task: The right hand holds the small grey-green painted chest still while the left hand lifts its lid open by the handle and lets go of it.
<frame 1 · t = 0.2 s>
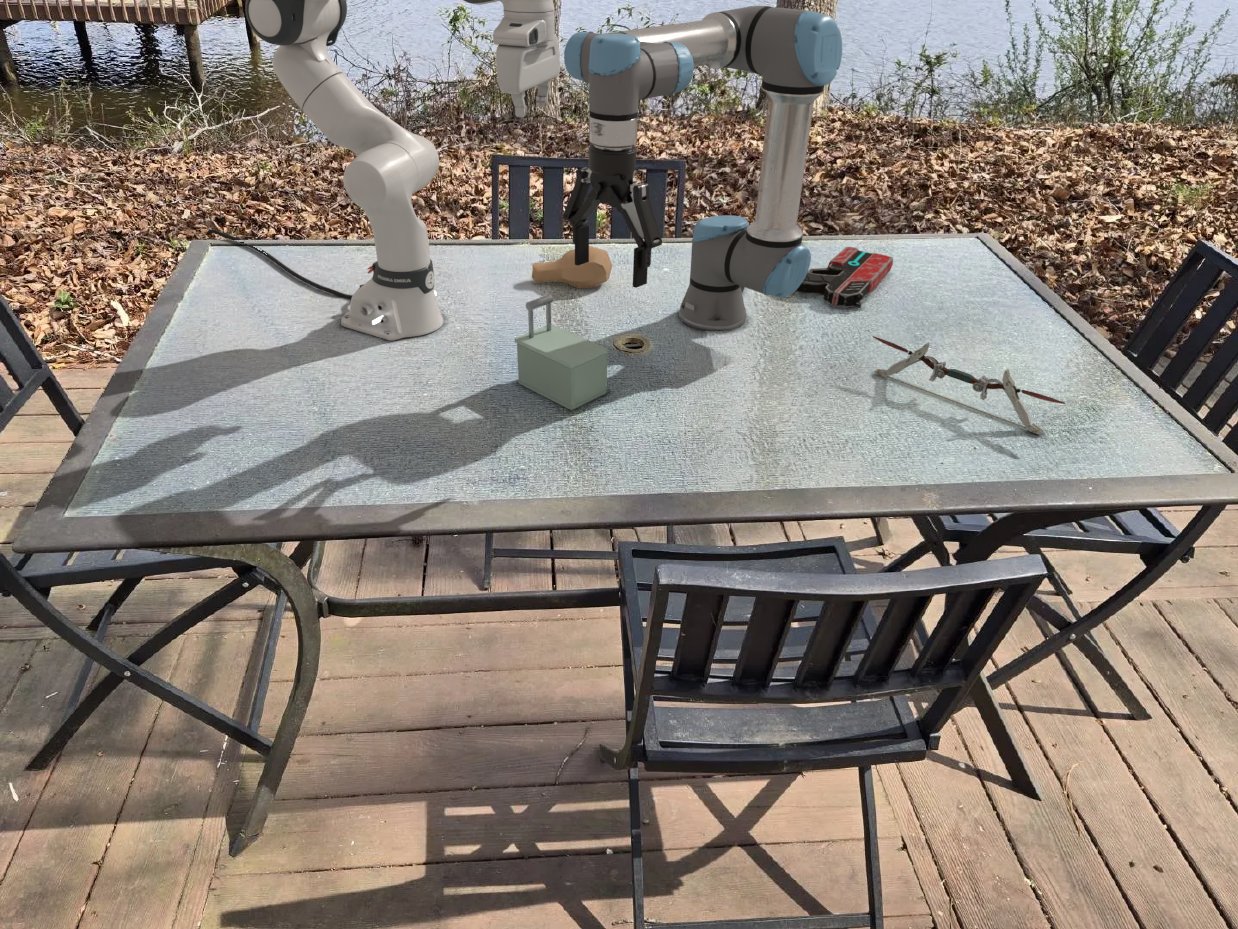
left hand: (531, 111, 161), 48 cm above the table, tool pointing down, fingers open, 8 cm apart
right hand: (610, 274, 149), 28 cm above the table, tool pointing down, fingers open, 13 cm apart
bow: (953, 402, 172), on the table
lid: (560, 327, 166), point 13 cm above the table, hinge at 0.0°
gun: (840, 283, 222), on the table
chest: (562, 388, 173), on the table
squash: (571, 283, 217), on the table
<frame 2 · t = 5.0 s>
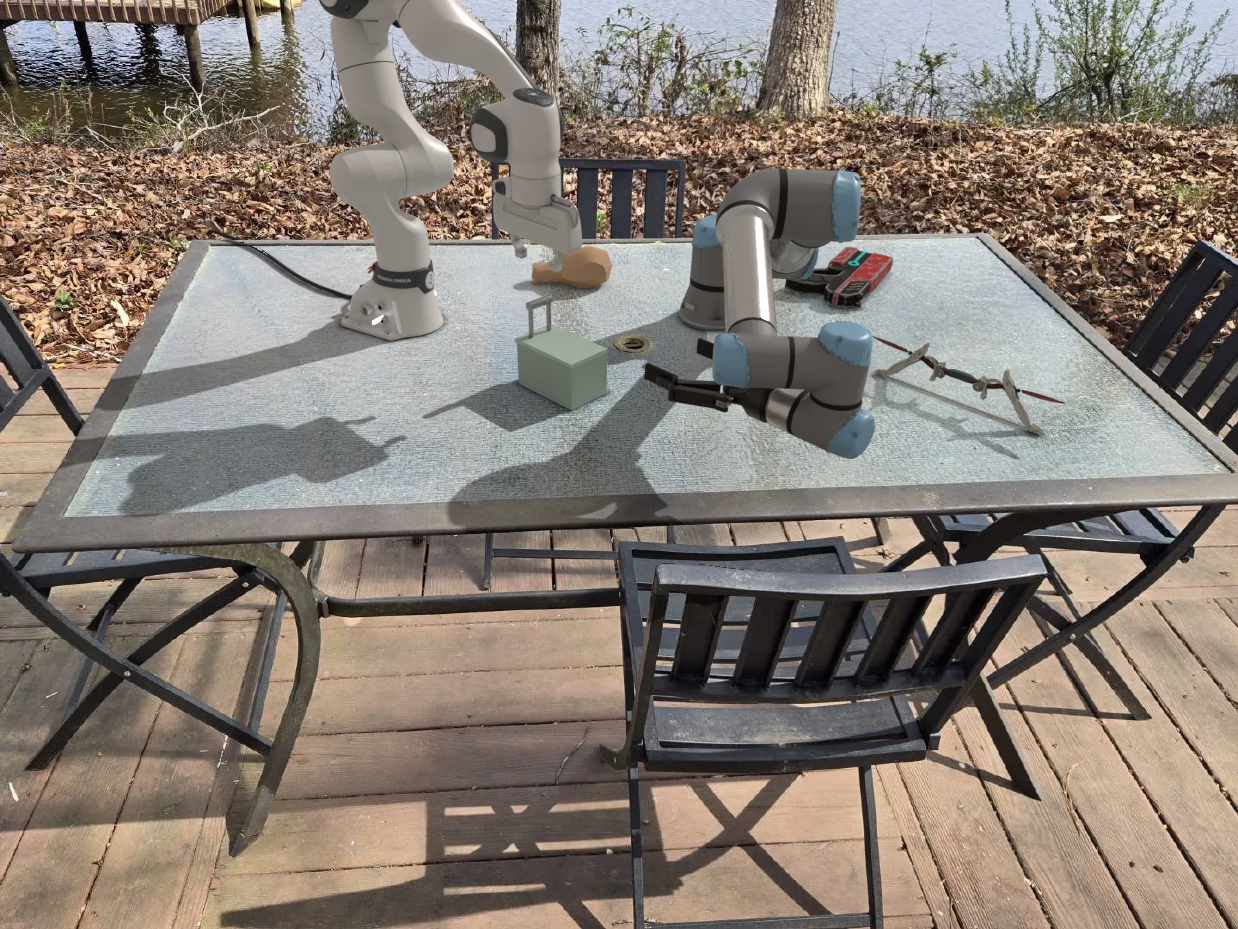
left hand: (538, 263, 163), 24 cm above the table, tool pointing down, fingers open, 8 cm apart
right hand: (672, 357, 148), 17 cm above the table, tool horizontal, fingers open, 13 cm apart
nothing on the table moved.
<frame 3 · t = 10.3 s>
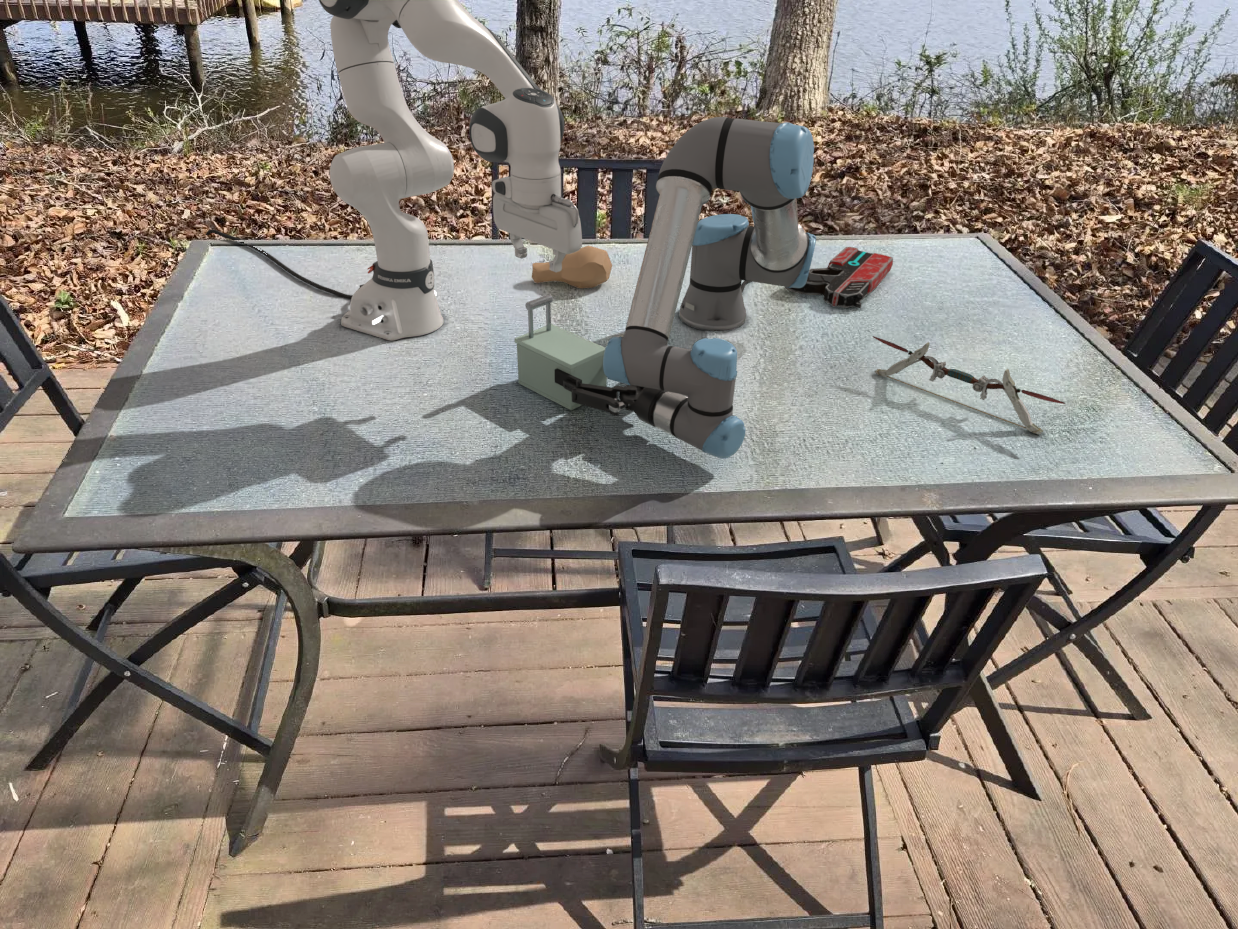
left hand: (538, 263, 163), 24 cm above the table, tool pointing down, fingers open, 8 cm apart
right hand: (575, 366, 167), 6 cm above the table, tool horizontal, fingers closed on chest, 10 cm apart
chest: (562, 388, 173), on the table, touching right hand
everything else where it was.
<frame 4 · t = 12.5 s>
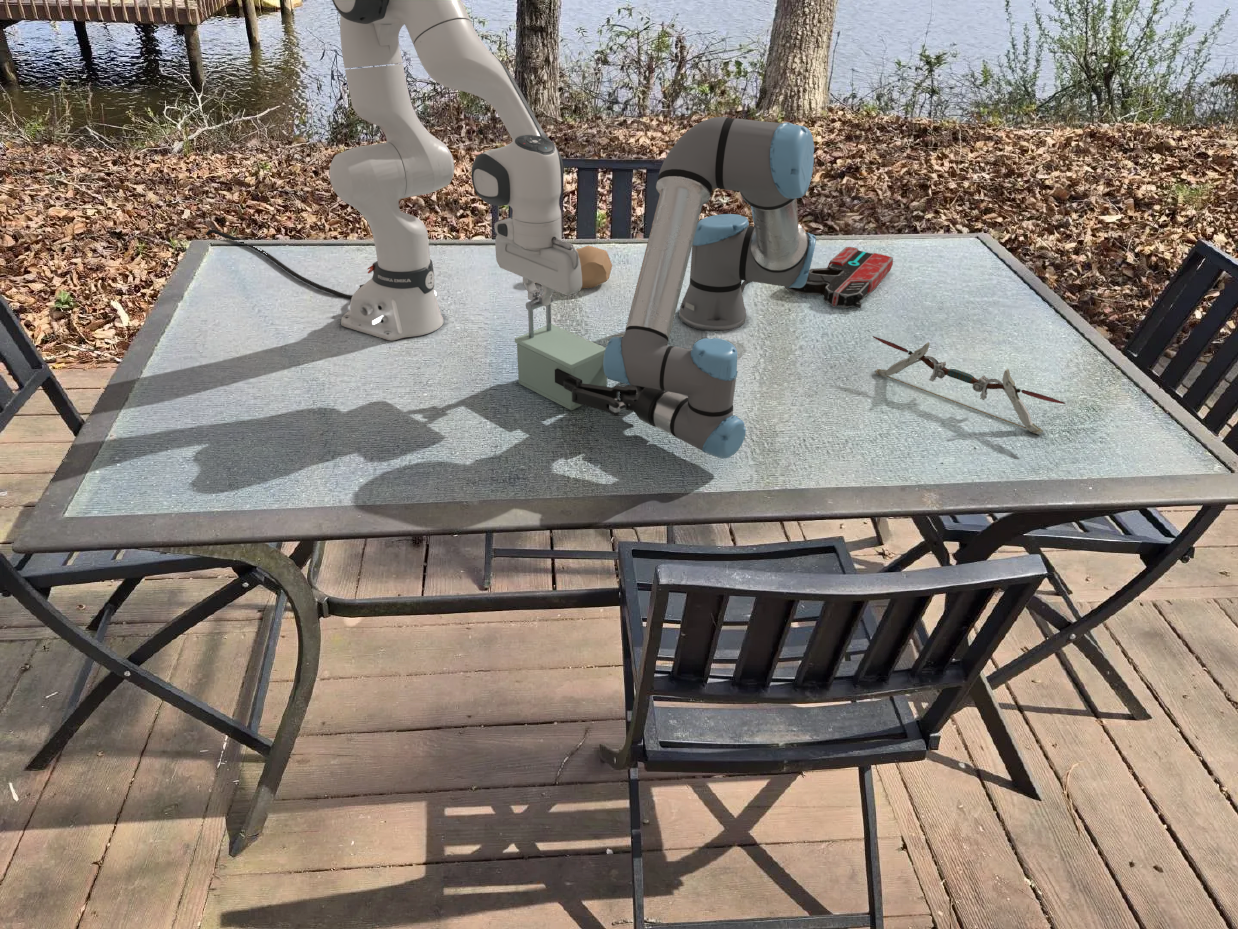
left hand: (539, 302, 167), 16 cm above the table, tool pointing down, fingers closed on lid, 2 cm apart
right hand: (576, 366, 167), 6 cm above the table, tool horizontal, fingers closed on chest, 10 cm apart
lid: (560, 327, 166), point 13 cm above the table, hinge at 0.0°, touching left hand
chest: (562, 388, 173), on the table, touching right hand
everything else where it was.
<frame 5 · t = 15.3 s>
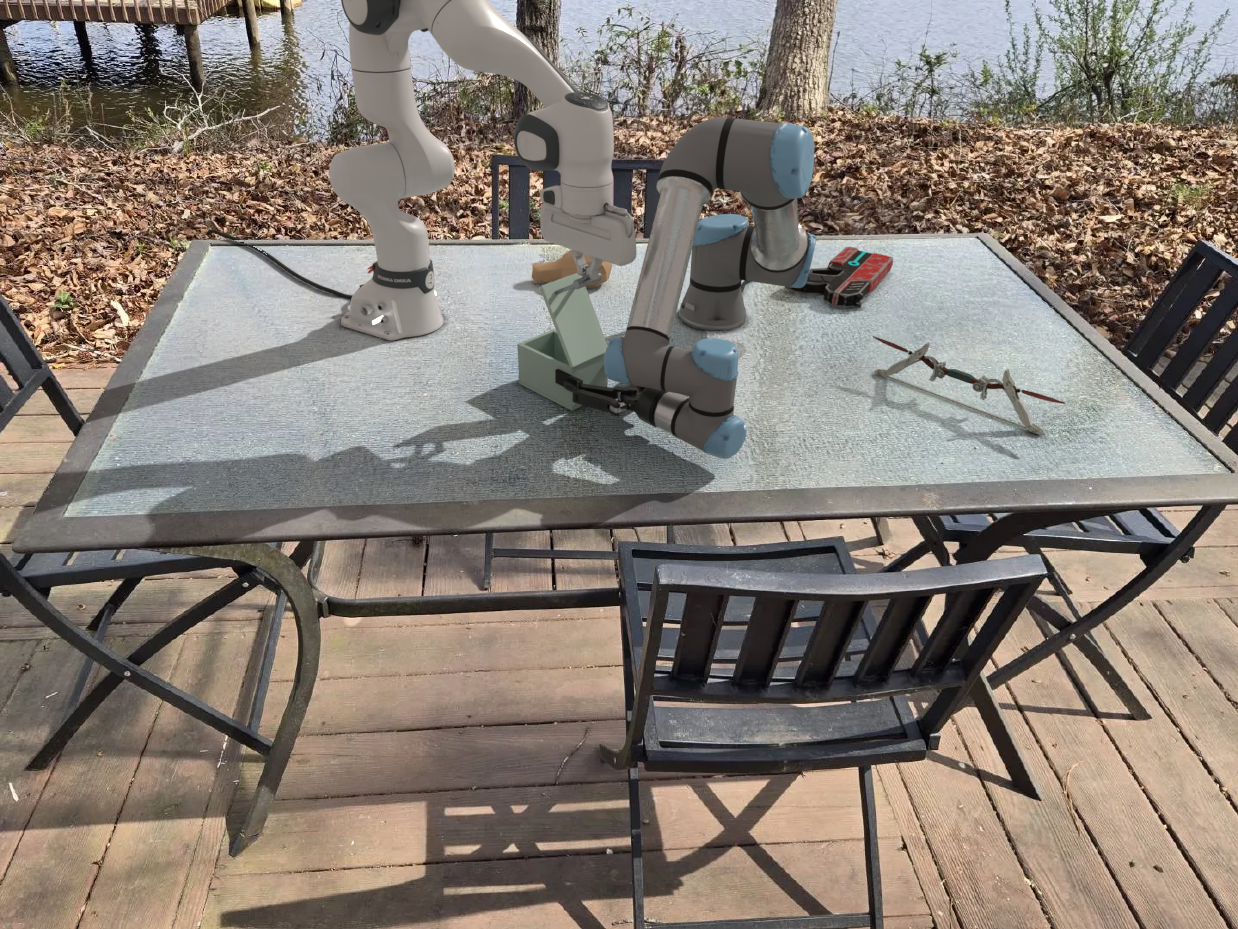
left hand: (587, 276, 155), 25 cm above the table, tool pointing down, fingers closed, pressing on lid
right hand: (576, 366, 167), 6 cm above the table, tool horizontal, fingers closed on chest, 10 cm apart
lid: (587, 315, 159), point 18 cm above the table, hinge at 59.5°, touching left hand
chest: (562, 388, 173), on the table, touching right hand
everything else where it was.
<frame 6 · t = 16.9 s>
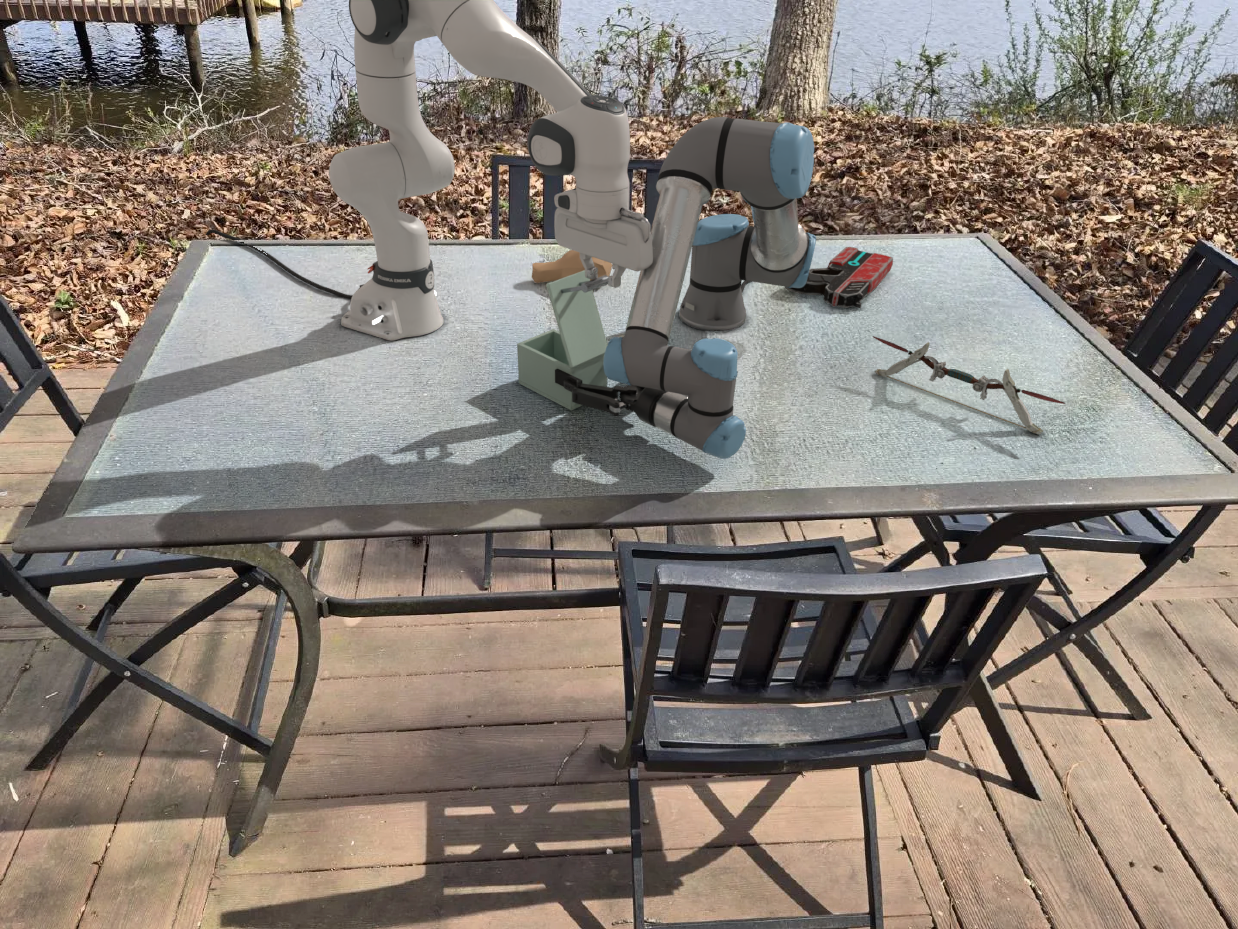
left hand: (602, 282, 153), 25 cm above the table, tool pointing down, fingers open, 4 cm apart
right hand: (576, 366, 167), 6 cm above the table, tool horizontal, fingers closed on chest, 10 cm apart
lid: (591, 316, 158), point 18 cm above the table, hinge at 67.2°, touching left hand
chest: (562, 388, 173), on the table, touching right hand
everything else where it was.
when the right hand's fingers open (6 cm above the table, at t = 20.0 s): chest stays where it is, on the table.
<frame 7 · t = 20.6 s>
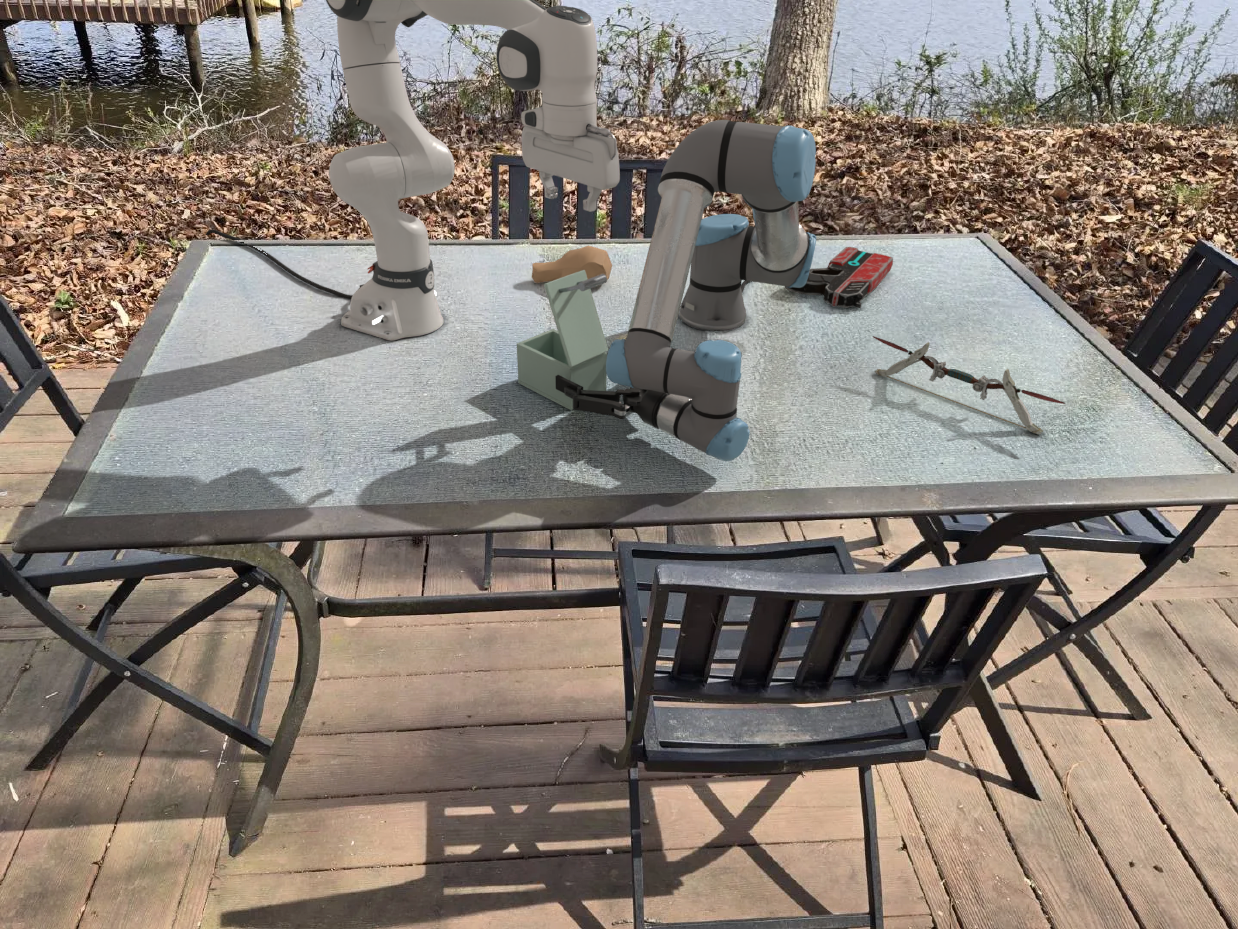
left hand: (570, 203, 151), 37 cm above the table, tool pointing down, fingers open, 8 cm apart
right hand: (583, 369, 166), 6 cm above the table, tool horizontal, fingers open, 13 cm apart
lid: (590, 315, 158), point 18 cm above the table, hinge at 65.6°
chest: (562, 388, 173), on the table
everything else where it was.
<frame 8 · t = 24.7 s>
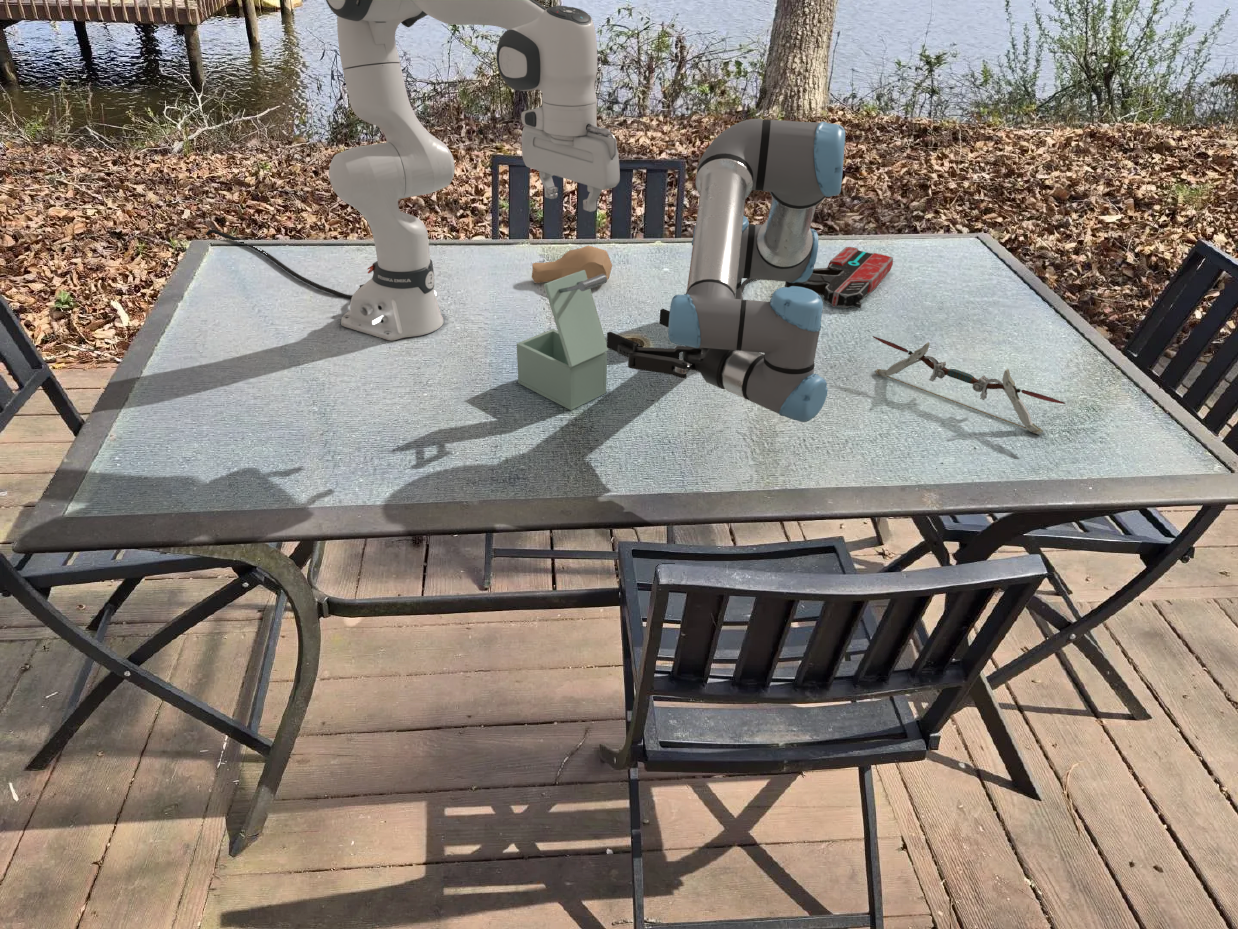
left hand: (570, 203, 151), 37 cm above the table, tool pointing down, fingers open, 8 cm apart
right hand: (635, 327, 152), 19 cm above the table, tool horizontal, fingers open, 13 cm apart
nothing on the table moved.
at the end: lid at +66° (first picture: +0°); the left hand is holding nothing; the right hand is holding nothing; chest tilted 0°; chest never tilted more than 1° during the clip; chest moved 0.1 cm from its start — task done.
